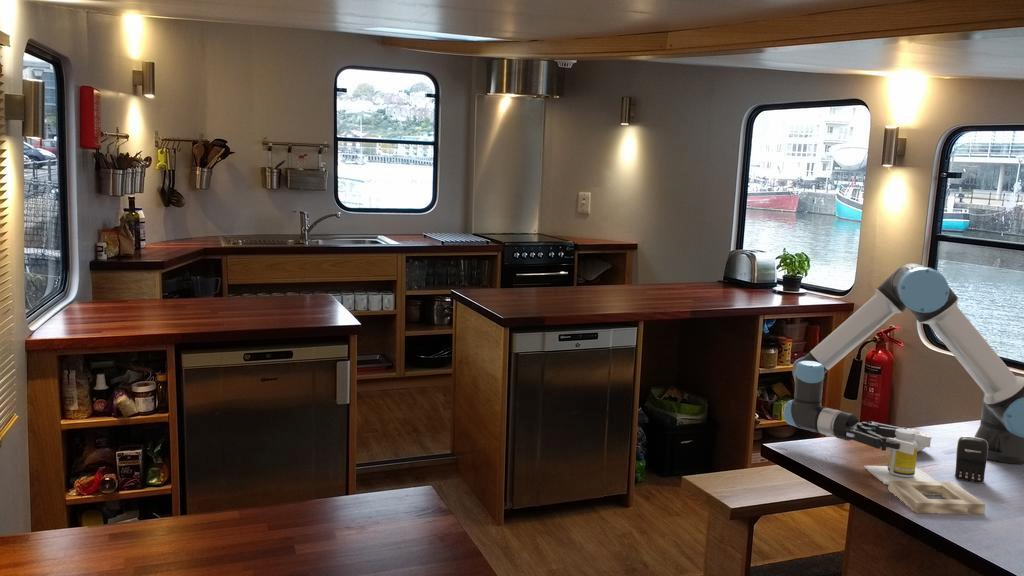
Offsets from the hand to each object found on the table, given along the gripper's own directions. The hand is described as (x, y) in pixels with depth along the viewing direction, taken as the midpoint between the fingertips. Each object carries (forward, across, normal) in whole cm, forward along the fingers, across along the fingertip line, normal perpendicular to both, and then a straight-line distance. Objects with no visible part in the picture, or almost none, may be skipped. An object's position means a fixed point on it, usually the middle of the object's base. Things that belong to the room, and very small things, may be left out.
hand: (921, 445), depth 207 cm
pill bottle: (-5, 0, -9) cm, 10 cm away
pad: (-5, 0, -10) cm, 11 cm away
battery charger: (+8, -12, -10) cm, 17 cm away
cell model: (-13, -24, -10) cm, 29 cm away
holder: (+8, +11, -10) cm, 17 cm away
